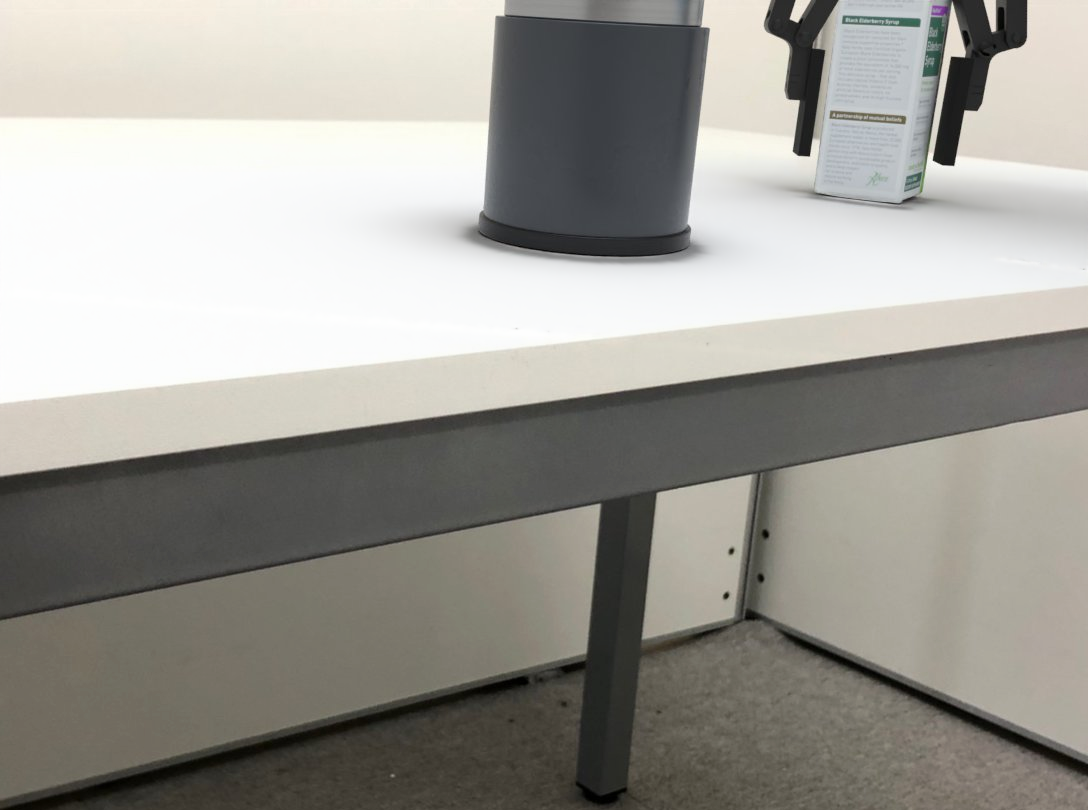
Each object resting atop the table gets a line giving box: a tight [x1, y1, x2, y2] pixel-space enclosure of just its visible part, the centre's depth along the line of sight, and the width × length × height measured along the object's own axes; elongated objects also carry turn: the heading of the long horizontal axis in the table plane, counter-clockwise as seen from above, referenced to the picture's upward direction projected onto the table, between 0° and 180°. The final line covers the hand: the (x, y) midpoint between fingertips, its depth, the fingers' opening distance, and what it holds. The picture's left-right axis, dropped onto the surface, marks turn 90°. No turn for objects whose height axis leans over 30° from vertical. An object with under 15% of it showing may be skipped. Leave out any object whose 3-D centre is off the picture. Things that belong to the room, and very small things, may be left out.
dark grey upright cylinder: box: [477, 0, 711, 257], centre depth 63 cm, size 10×10×12 cm
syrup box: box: [813, 0, 953, 204], centre depth 83 cm, size 6×6×14 cm
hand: (871, 158), depth 85 cm, fingers open, 8 cm apart
